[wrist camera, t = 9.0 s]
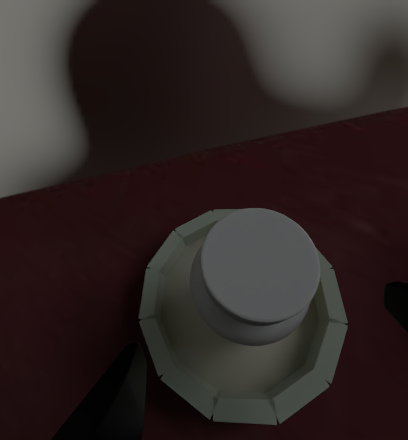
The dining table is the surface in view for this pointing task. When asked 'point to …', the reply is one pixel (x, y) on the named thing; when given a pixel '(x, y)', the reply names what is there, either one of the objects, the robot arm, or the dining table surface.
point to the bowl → (233, 352)
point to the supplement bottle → (254, 276)
